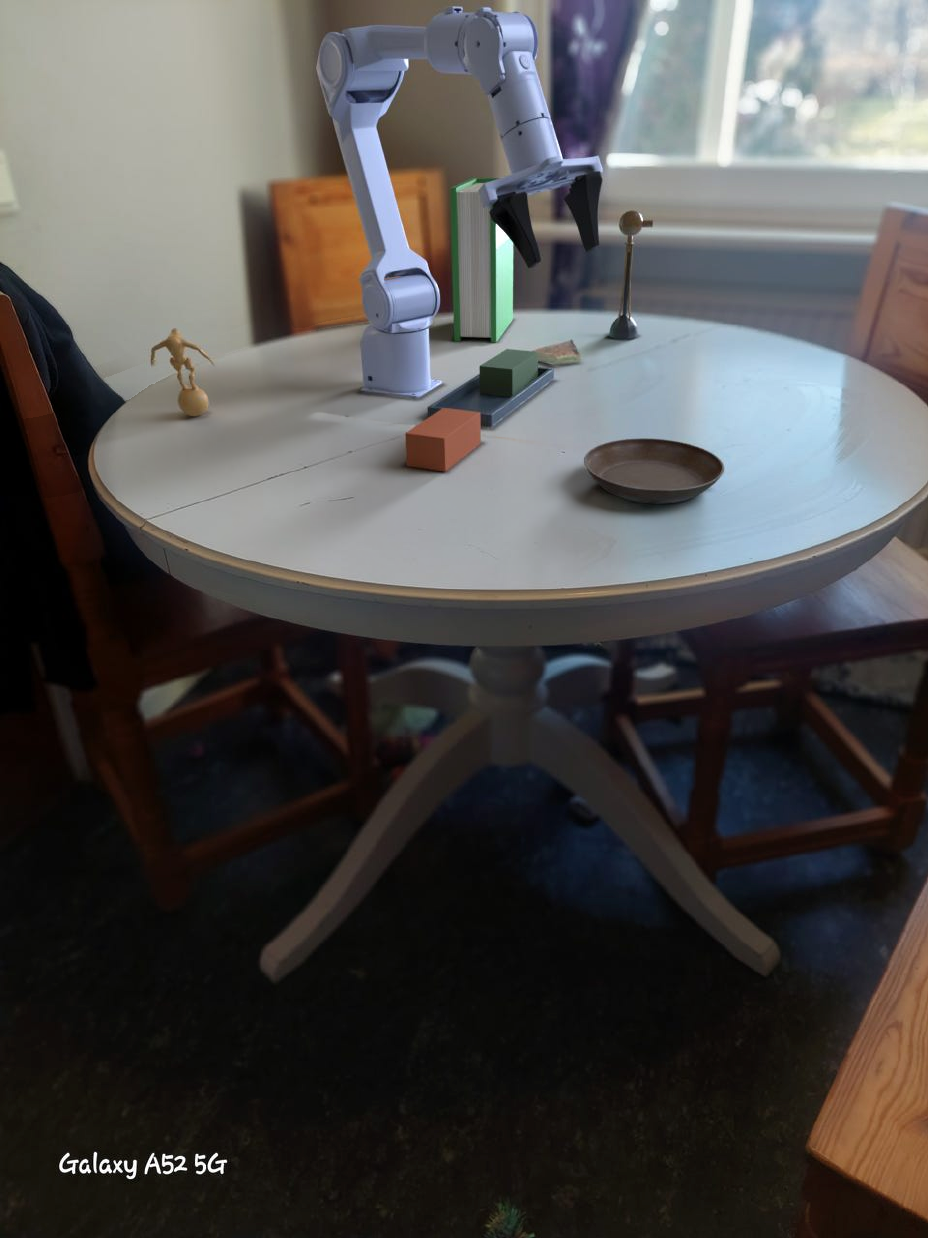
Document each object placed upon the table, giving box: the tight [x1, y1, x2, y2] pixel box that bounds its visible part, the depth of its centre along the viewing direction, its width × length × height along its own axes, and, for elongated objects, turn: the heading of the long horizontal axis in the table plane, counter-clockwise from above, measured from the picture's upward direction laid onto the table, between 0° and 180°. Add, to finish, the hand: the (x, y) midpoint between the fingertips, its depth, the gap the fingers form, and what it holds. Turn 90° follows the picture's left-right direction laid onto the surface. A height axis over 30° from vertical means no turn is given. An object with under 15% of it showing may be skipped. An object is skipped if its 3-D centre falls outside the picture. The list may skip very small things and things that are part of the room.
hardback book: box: [449, 177, 514, 343], centre depth 152 cm, size 18×7×24 cm, turn 168°
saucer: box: [583, 437, 726, 505], centre depth 94 cm, size 15×15×3 cm
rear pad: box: [479, 348, 539, 398], centre depth 125 cm, size 5×10×4 cm, turn 155°
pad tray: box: [426, 366, 555, 428], centre depth 122 cm, size 9×23×2 cm, turn 155°
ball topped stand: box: [608, 209, 654, 340], centre depth 147 cm, size 6×5×20 cm
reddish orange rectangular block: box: [404, 408, 482, 473], centre depth 103 cm, size 5×10×4 cm, turn 155°
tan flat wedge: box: [532, 339, 581, 366], centre depth 140 cm, size 11×8×2 cm
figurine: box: [150, 328, 215, 417], centre depth 115 cm, size 8×6×12 cm
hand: (564, 256), depth 97 cm, fingers open, 7 cm apart
